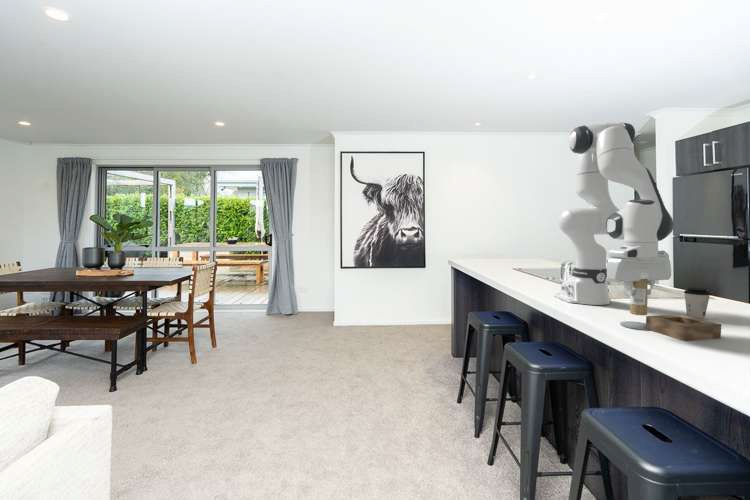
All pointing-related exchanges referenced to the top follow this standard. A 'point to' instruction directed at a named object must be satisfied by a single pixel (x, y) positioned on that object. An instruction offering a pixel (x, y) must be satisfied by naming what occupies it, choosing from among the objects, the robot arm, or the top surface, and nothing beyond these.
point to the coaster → (634, 325)
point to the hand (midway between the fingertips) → (638, 294)
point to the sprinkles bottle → (639, 296)
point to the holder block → (683, 327)
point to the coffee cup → (696, 302)
